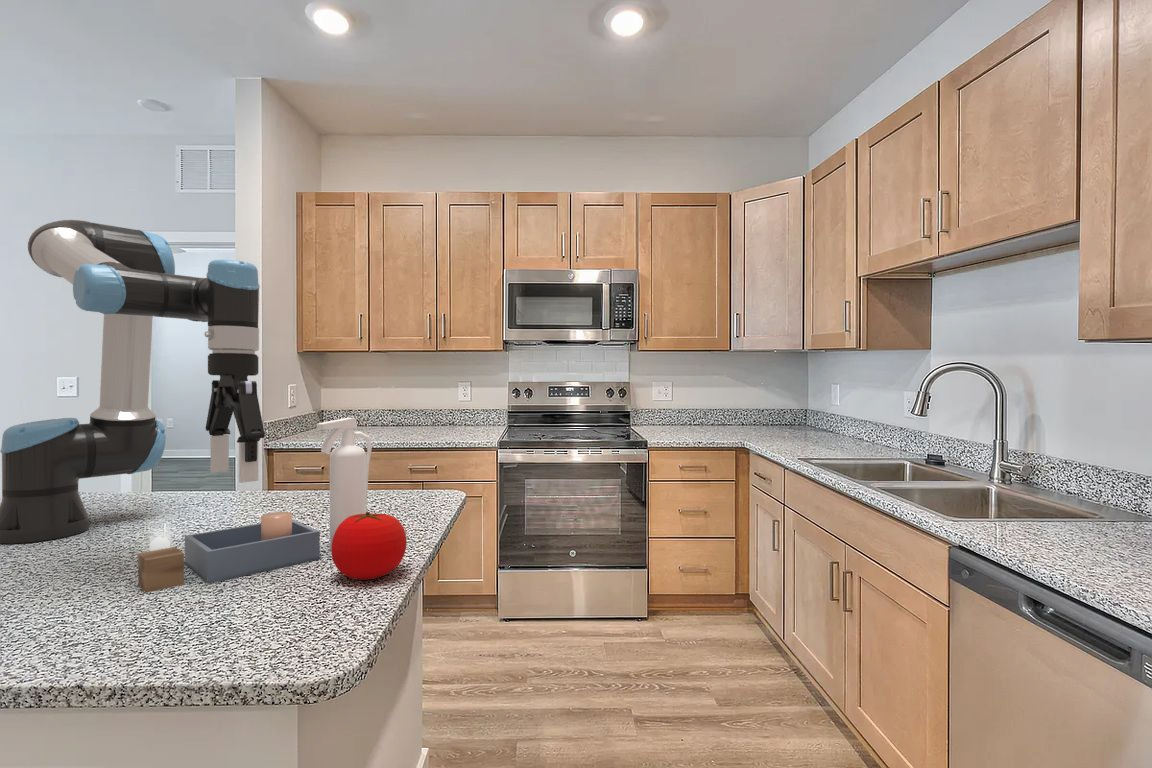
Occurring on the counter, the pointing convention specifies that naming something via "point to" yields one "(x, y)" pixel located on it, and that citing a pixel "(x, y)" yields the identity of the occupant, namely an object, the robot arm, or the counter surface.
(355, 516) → the tomato
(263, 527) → the peach rounded cylinder
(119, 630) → the counter surface
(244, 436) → the robot arm
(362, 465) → the white spray bottle
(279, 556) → the tote
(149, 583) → the walnut cube
